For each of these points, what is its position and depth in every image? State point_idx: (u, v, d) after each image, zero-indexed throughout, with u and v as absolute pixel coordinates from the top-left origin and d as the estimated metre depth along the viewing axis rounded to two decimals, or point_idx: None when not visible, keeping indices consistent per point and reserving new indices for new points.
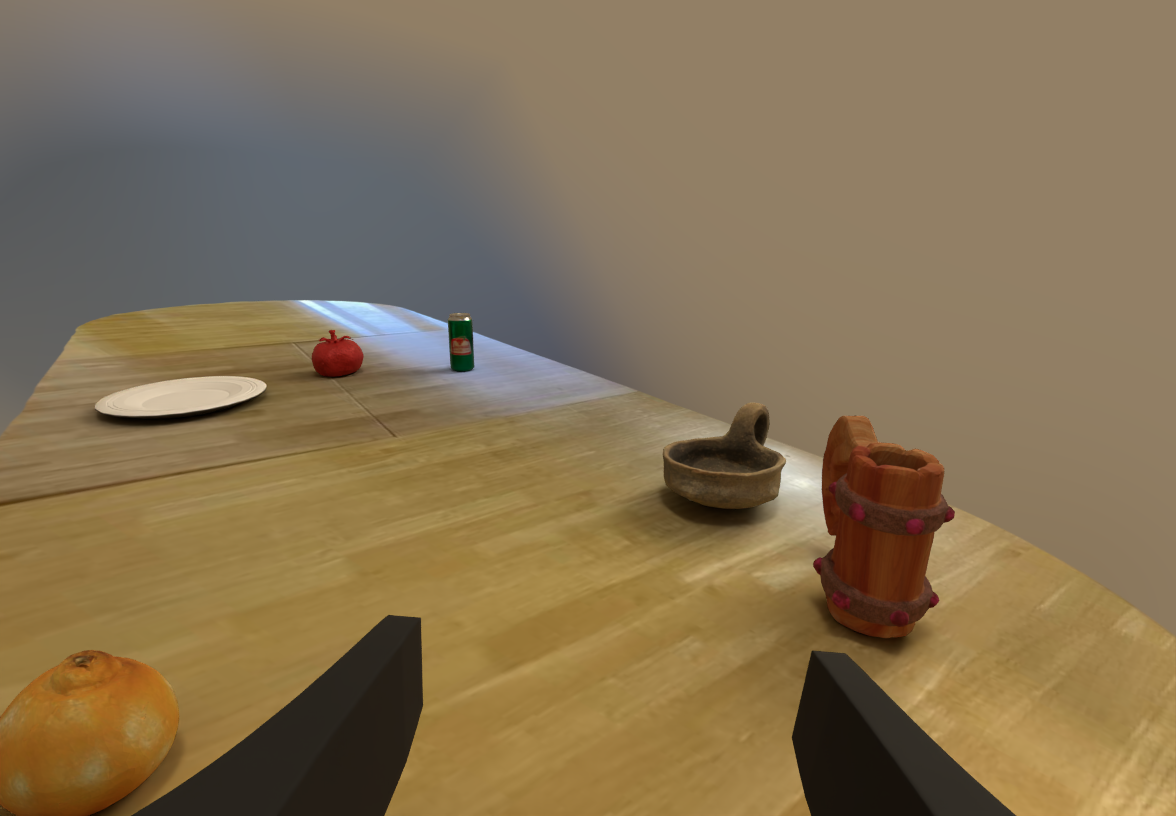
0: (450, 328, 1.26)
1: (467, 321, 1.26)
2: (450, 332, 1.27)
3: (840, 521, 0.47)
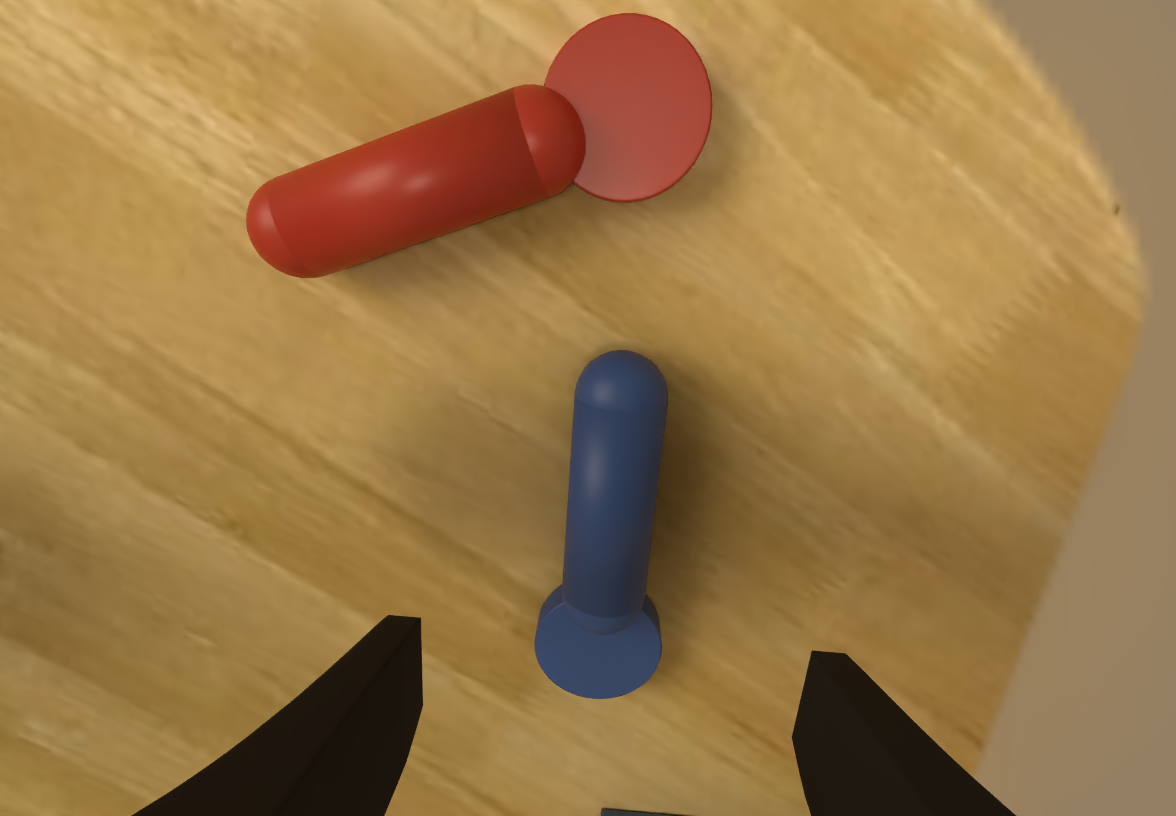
0: None
1: None
2: None
3: None
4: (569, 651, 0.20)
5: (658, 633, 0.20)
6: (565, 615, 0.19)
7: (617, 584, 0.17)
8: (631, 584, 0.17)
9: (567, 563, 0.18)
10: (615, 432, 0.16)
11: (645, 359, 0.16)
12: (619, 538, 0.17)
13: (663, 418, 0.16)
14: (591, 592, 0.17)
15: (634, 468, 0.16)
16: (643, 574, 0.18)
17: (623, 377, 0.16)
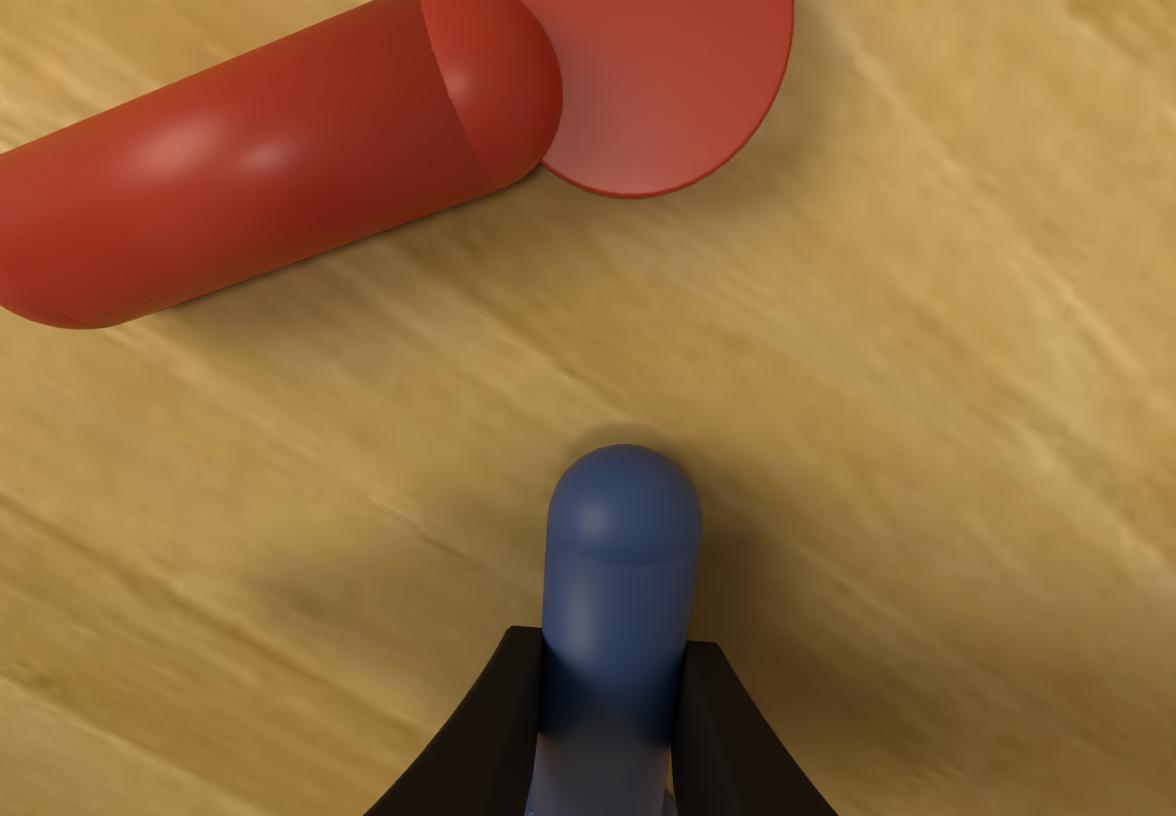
0: None
1: None
2: None
3: None
4: None
5: None
6: None
7: None
8: None
9: (539, 774, 0.11)
10: (614, 596, 0.09)
11: (665, 464, 0.10)
12: (621, 756, 0.10)
13: (695, 562, 0.10)
14: None
15: (648, 651, 0.09)
16: (660, 793, 0.11)
17: (628, 504, 0.09)
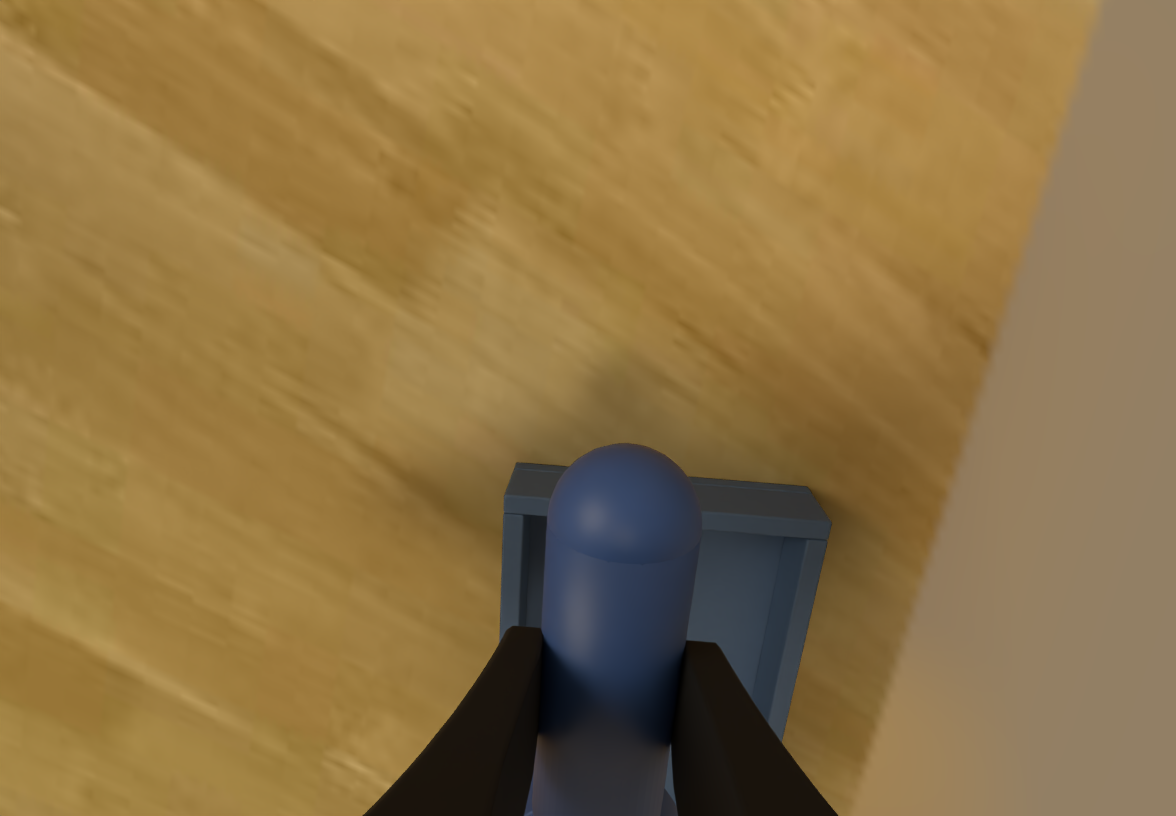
0: None
1: None
2: None
3: None
4: None
5: None
6: None
7: None
8: (640, 815, 0.11)
9: (538, 773, 0.11)
10: (614, 596, 0.09)
11: (665, 463, 0.10)
12: (621, 755, 0.10)
13: (695, 562, 0.10)
14: None
15: (646, 651, 0.09)
16: (659, 793, 0.11)
17: (628, 503, 0.09)
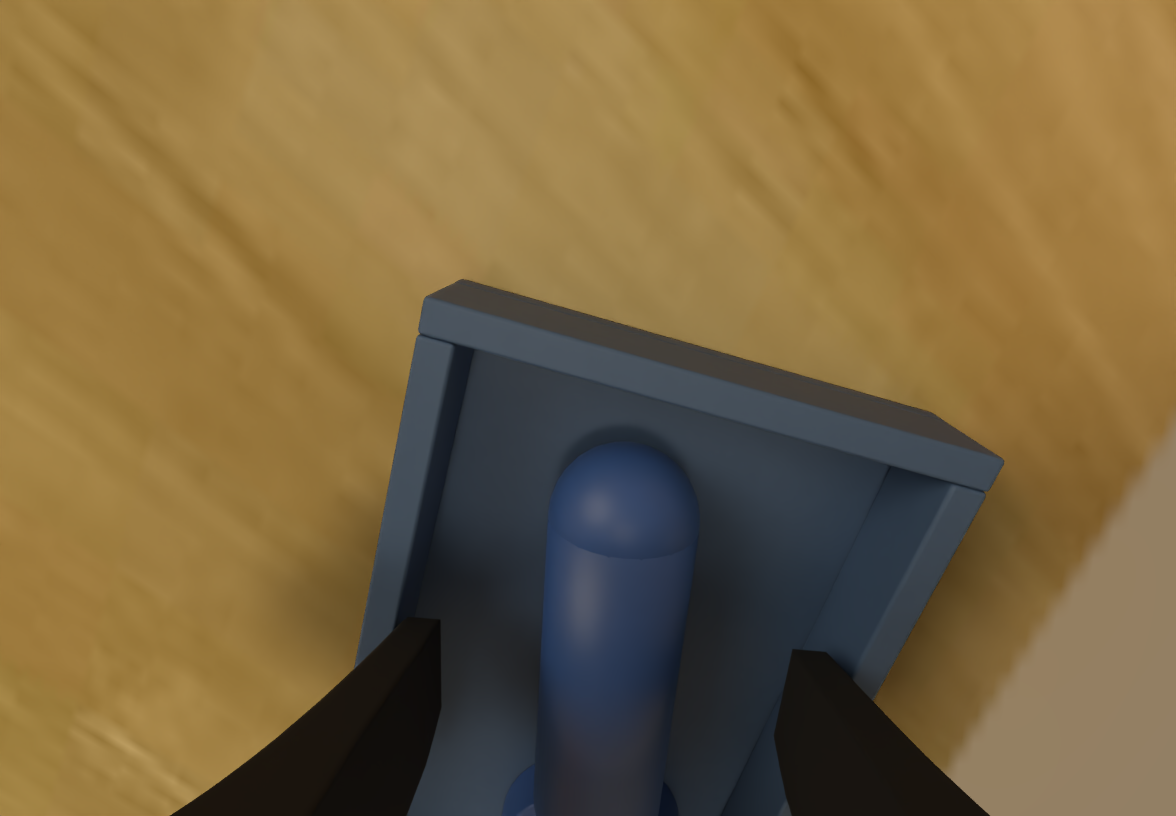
0: None
1: None
2: None
3: None
4: None
5: None
6: None
7: (618, 811, 0.11)
8: (640, 807, 0.11)
9: (539, 765, 0.11)
10: (614, 590, 0.09)
11: (663, 461, 0.10)
12: (620, 747, 0.10)
13: (693, 557, 0.10)
14: None
15: (646, 644, 0.10)
16: (658, 784, 0.11)
17: (627, 499, 0.09)
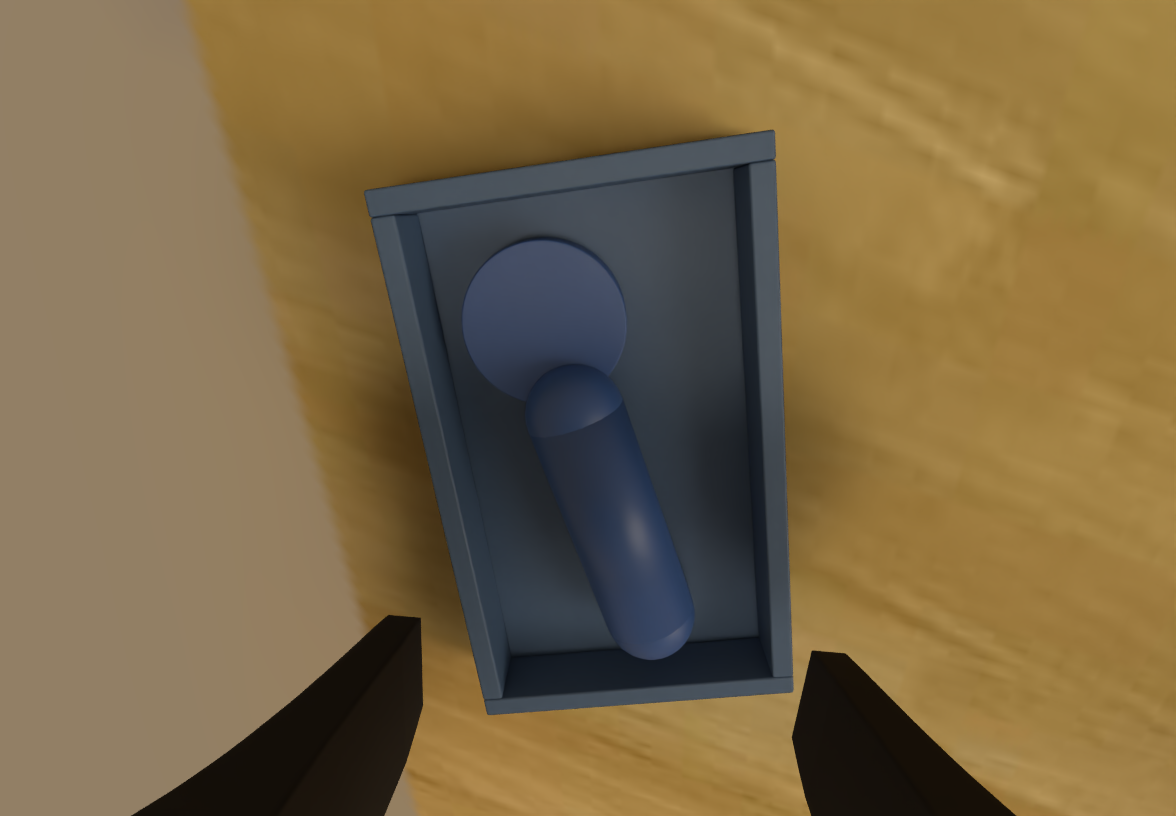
0: None
1: None
2: None
3: None
4: (575, 306, 0.15)
5: (485, 376, 0.16)
6: (601, 355, 0.15)
7: (574, 475, 0.15)
8: (558, 474, 0.15)
9: (633, 451, 0.15)
10: (649, 622, 0.16)
11: None
12: (598, 527, 0.15)
13: (606, 623, 0.17)
14: (597, 453, 0.15)
15: (615, 596, 0.16)
16: (548, 475, 0.15)
17: (661, 657, 0.17)
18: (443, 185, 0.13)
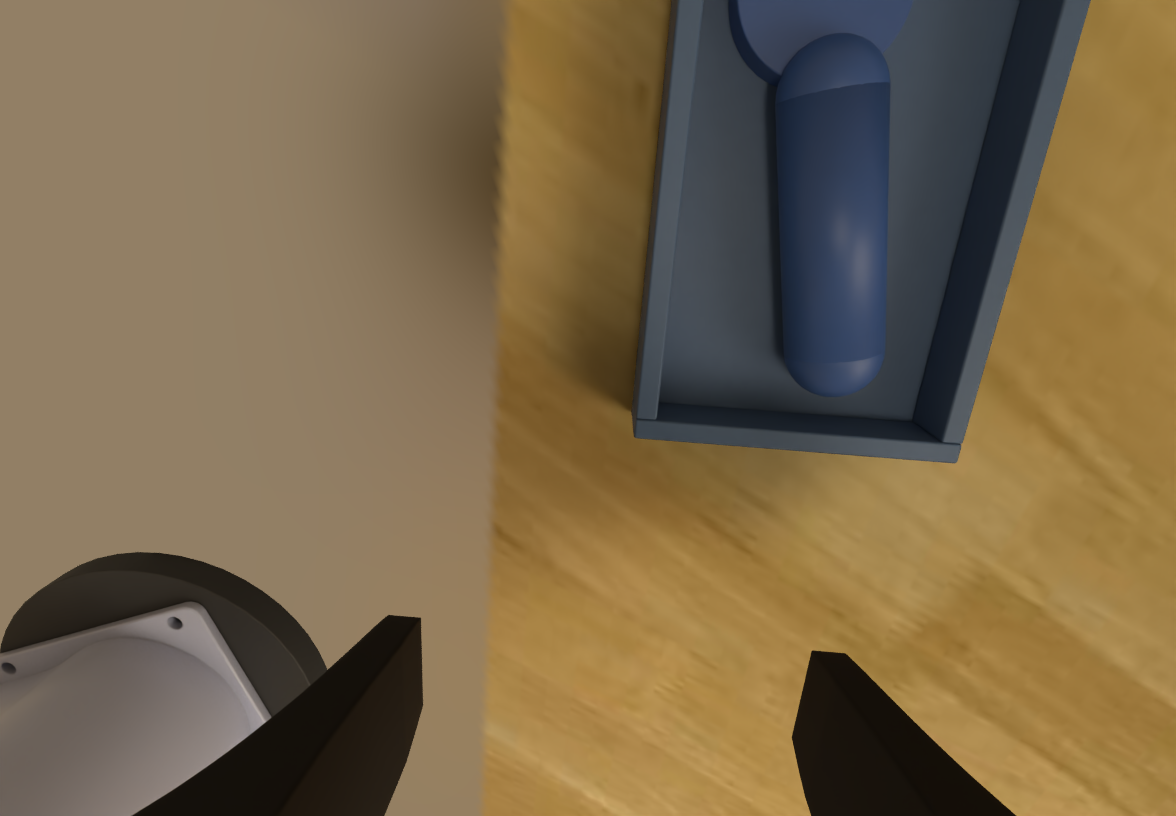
0: None
1: None
2: None
3: None
4: None
5: (745, 35, 0.15)
6: (876, 34, 0.14)
7: (834, 142, 0.14)
8: (813, 141, 0.14)
9: None
10: (855, 338, 0.15)
11: (814, 393, 0.17)
12: (839, 211, 0.14)
13: (794, 346, 0.16)
14: (866, 120, 0.14)
15: (829, 300, 0.15)
16: (793, 150, 0.14)
17: (847, 389, 0.16)
18: None
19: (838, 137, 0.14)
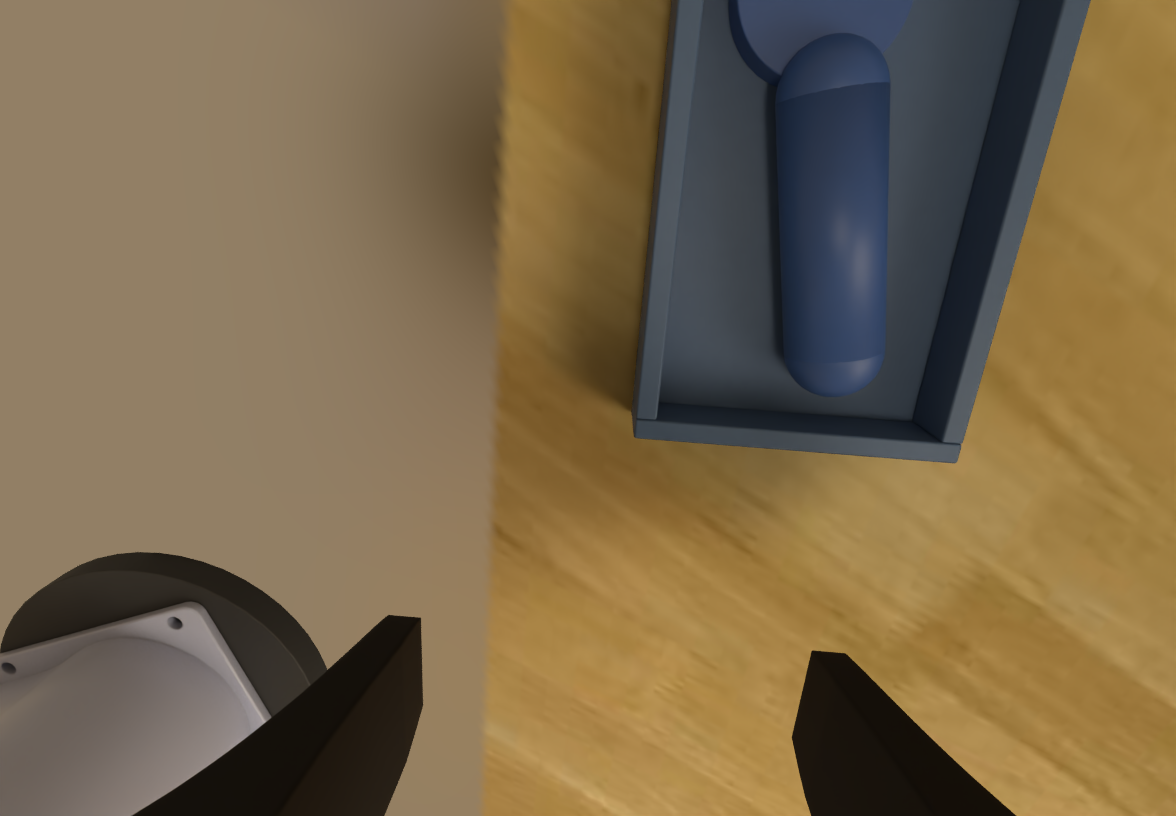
0: None
1: None
2: None
3: None
4: None
5: (745, 35, 0.15)
6: (876, 34, 0.14)
7: (834, 142, 0.14)
8: (813, 141, 0.14)
9: None
10: (855, 338, 0.15)
11: (814, 393, 0.17)
12: (839, 211, 0.14)
13: (794, 346, 0.16)
14: (866, 120, 0.14)
15: (829, 300, 0.15)
16: (793, 150, 0.14)
17: (847, 389, 0.16)
18: None
19: (838, 137, 0.14)
